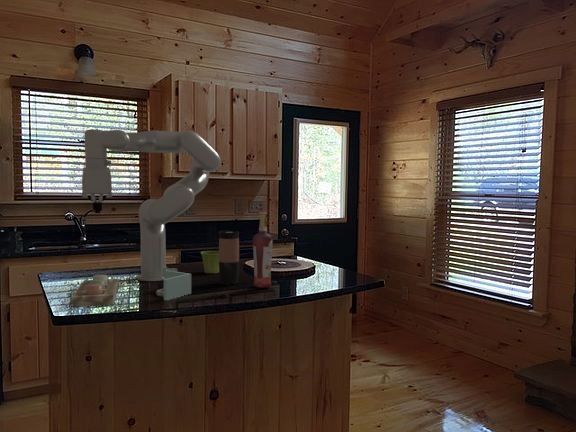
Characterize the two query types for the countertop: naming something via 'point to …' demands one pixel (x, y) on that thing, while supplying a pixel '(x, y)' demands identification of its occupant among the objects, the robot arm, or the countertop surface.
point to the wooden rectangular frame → (93, 300)
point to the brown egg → (94, 289)
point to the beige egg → (101, 277)
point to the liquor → (262, 254)
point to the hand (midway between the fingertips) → (97, 213)
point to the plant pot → (211, 261)
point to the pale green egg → (98, 282)
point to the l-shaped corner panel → (175, 285)
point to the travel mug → (228, 257)
